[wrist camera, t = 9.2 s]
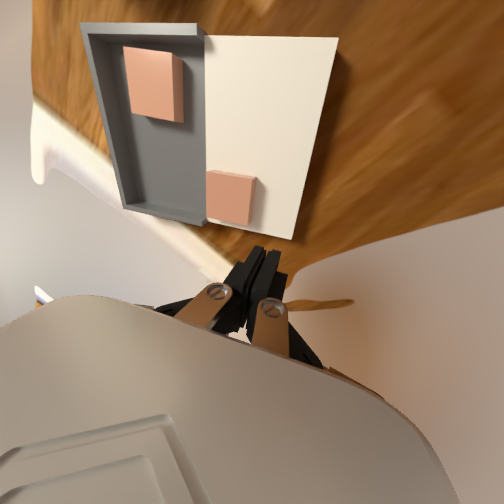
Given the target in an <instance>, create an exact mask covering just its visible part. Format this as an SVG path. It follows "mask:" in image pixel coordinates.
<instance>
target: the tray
mask: <svg viewBox="0 0 504 504" xmlns="http://www.w3.org/2000/svg"><path fill="white" fill-rule="evenodd" d="M79 24H80V29H81V33H82V37H83V41H84V45H85V50H86V54H87V58H88V62H89V66H90V71H91V75H92V79H93V83H94V87H95V92H96V96H97V100H98V104H99V108H100V113H101V117H102V121H103V125H104V129H105V134H106V138H107V142H108V146H109V150H110V155H111V159H112V163H113V167H114V171H115V176H116V180H117V184H118V188H119V193H120V197H121V201H122V205H123V209H127V210H131V211H136V212H140V213H145V214H149V215H153V216H158V217H162V218H167V219H171V220H175V221H180V222H184V223H189V224H193V225H197V226H204V225H205V224H206V223H208V221H207V217H206V118H205V45H204V35H208V34H207V33H206V32H205V31H204V30H203V29H202V28H201V27H200V26H199V25H198V24H197V23H79ZM123 46H125V47H132V48H140V49H147V50H154V51H162V52H169V53H173V54H174V55H176V56H177V57H179V58H181V59H182V60H183V112H184V123H181V122H175V121H170V120H164V119H159V118H154V117H149V116H144V115H139V114H134V113H132V112H131V104H130V96H129V89H128V81H127V73H126V65H125V58H124V50H123Z"/></svg>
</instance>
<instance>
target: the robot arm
mask: <svg viewBox="0 0 504 504" xmlns="http://www.w3.org/2000/svg"><path fill="white" fill-rule="evenodd" d="M280 255H281V251H277V250H272V252H271V251H268V254H267V256H266V250H264V247H260V246H256V245H255V246H254V248H253V250H252V251H251V253H250V254H249V256H248V258H247V259H246V261H245V262H244V263H243V262H240V261H238V262H237V263H236V265H235V266H234V267H233V269H232V270H231V272H230V273H229V275H228V276H227V278H226V279H225V280H224V282H223V283H212V284H210V285H208V286H206V287H205V288H204V289H203V290H202V291H201V292H200V293H199V294H198V295H197V296H196V297H194V298H190V299H186V300H182V301H179V302H175V303H171V304H167V305H163V306H160V307H157V308H156V309H154V307H153V306H146V305H137V304H131V303H128V302H124V301H121V300H117V299H113V298H108V297H103V296H94V295H77V296H68V297H63V298H59V299H56V300H53V301H51V302H49V303H46V304H44V305H42V306H40V307H38V308H36V309H34V310H32V311H30V312H29V313H27V314H25V315H23V316H21V317H19V318H17V319H16V320H14V321H12V322H10V323H8V324H6V325H5V326H3V327H1V328H0V504H460V501H459V499H458V497H457V495H456V492H455V490H454V488H453V486H452V484H451V482H450V480H449V478H448V476H447V473H446V471H445V469H444V467H443V465H442V463H441V462H440V460H439V458H438V456H437V454H436V452H435V451H434V449H433V448H432V446H431V444H430V443H429V441H428V440H427V439H426V437H425V436H424V435H423V433H422V432H421V431H420V430H419V429H418V428H417V427H416V425H415V424H414V423H413V422H411V421H410V420H409V419H408V418H407V417H406V416H405V415H404V414H402V413H401V412H400V411H399V410H398V409H396V408H395V407H394V406H392V405H391V404H389V403H388V402H386V401H385V400H384V398H383V397H381V396H380V395H379V394H377V393H376V392H374V391H372V390H370V389H368V388H367V387H365V386H363V385H362V384H360V383H358V382H356V381H355V380H353V379H351V378H349V377H347V376H346V375H344V374H342V373H340V372H339V371H337V370H335V369H333V368H332V367H329V369H328V368H326V367H325V366H323V365H322V363H321V361H320V360H319V358H318V357H317V356H316V355H315V353H314V352H313V351H312V350H311V348H310V347H309V346H308V345H307V343H306V342H305V341H304V340H303V339H302V337H301V336H300V335H299V334H298V332H297V331H296V330H295V329H294V328H293V326H292V325H291V324H290V323H289V321H288V310H287V307H286V305H285V304H284V303H283V302H282V298H283V294H284V290H285V285H286V281H287V277H288V274H285V273H281V272H277V268H278V264H279V259H280ZM265 256H266V258H265ZM246 320H247V324H246V329H247V333H246V335H247V337H248V339H249V341H250V343H251V344H249V343H246V342H244V341H240V340H238V339H235V338H232V337H229V336H228V334H229V333H231V332H237V333H238V330H239V328H240V327H241V328H243V327H244V325H245V322H246Z"/></svg>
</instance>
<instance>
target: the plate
mask: <svg viewBox="0 0 504 504" xmlns="http://www.w3.org/2000/svg"><path fill="white" fill-rule="evenodd" d="M337 43H338V38H320V37H266V36H212V35H204V45H205V118H206V171H210V170H218V171H224V172H230V173H236V174H242V175H249V176H255V177H256V186H255V195H254V204H253V213H252V221H251V223H250V224H249V225H248V226H244V225H239V224H235V223H230V222H226V221H221V220H216V219H212V218H207V221H208V222H213V223H217V224H222V225H226V226H231V227H235V228H240V229H244V230H249V231H253V232H258V233H262V234H267V235H272V236H276V237H281V238H285V239H290V240H292V236H293V232H294V228H295V223H296V219H297V215H298V211H299V206H300V202H301V198H302V194H303V189H304V185H305V181H306V177H307V172H308V168H309V164H310V159H311V155H312V151H313V147H314V142H315V138H316V134H317V130H318V125H319V121H320V117H321V113H322V108H323V104H324V100H325V95H326V91H327V87H328V83H329V78H330V74H331V70H332V66H333V61H334V57H335V53H336V48H337Z"/></svg>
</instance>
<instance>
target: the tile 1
mask: <svg viewBox="0 0 504 504" xmlns="http://www.w3.org/2000/svg"><path fill="white" fill-rule="evenodd" d="M123 50H124V58H125V65H126V73H127V81H128V89H129V96H130V104H131V112H132V113H134V114H139V115H144V116H149V117H154V118H159V119H164V120H170V121H175V122H181V123H184V112H183V60H182V59H181V58H179V57H177V56H176V55H174V54H173V53H169V52H162V51H154V50H147V49H140V48H132V47H125V46H123Z"/></svg>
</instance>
